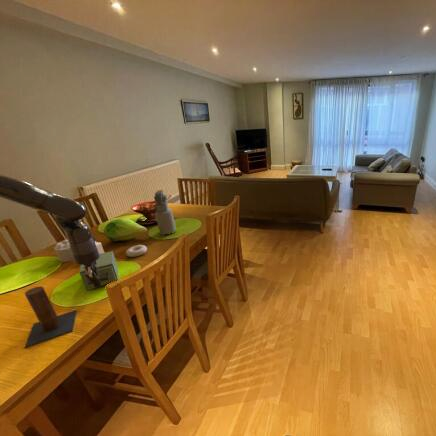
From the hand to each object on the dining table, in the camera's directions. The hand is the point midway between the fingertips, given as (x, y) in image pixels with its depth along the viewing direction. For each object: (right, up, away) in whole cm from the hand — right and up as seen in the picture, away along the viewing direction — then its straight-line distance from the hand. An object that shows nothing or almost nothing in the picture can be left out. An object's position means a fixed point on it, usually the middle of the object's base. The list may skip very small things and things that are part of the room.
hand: (98, 286), depth 100 cm
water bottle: (-1, +19, +59) cm, 62 cm away
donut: (-5, +8, +34) cm, 35 cm away
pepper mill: (-5, -11, -14) cm, 18 cm away
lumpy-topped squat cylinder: (-40, +7, +32) cm, 52 cm away
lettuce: (-22, +15, +51) cm, 57 cm away
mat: (-5, -11, -14) cm, 19 cm away
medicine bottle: (-28, +7, +31) cm, 42 cm away
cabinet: (-8, 0, +13) cm, 15 cm away
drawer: (-6, 0, +10) cm, 11 cm away
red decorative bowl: (-21, +27, +79) cm, 86 cm away
